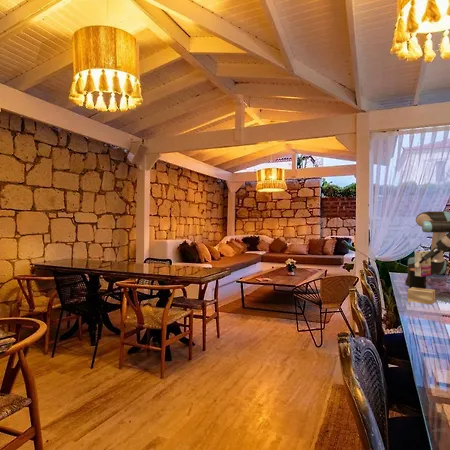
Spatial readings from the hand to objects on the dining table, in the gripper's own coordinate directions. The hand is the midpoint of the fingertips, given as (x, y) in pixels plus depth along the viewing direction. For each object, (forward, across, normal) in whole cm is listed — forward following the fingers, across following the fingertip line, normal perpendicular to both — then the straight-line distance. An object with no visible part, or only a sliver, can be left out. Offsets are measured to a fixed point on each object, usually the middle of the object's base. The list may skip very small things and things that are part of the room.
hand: (418, 265), depth 237 cm
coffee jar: (+22, +23, -12) cm, 34 cm away
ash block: (+16, -1, -19) cm, 24 cm away
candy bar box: (+3, 0, -7) cm, 8 cm away
